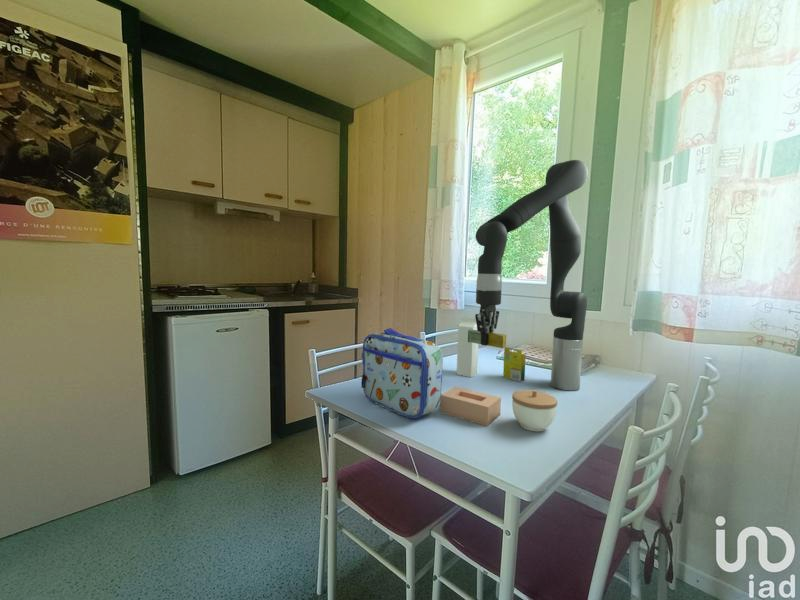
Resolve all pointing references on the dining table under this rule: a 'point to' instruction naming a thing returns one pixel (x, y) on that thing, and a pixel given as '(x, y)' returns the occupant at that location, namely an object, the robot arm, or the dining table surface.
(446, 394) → the beige slotted holder
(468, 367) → the milk
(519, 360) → the crayon box
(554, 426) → the dining table surface
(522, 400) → the lidded jar
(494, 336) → the medication box
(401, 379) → the lunch box
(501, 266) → the robot arm
